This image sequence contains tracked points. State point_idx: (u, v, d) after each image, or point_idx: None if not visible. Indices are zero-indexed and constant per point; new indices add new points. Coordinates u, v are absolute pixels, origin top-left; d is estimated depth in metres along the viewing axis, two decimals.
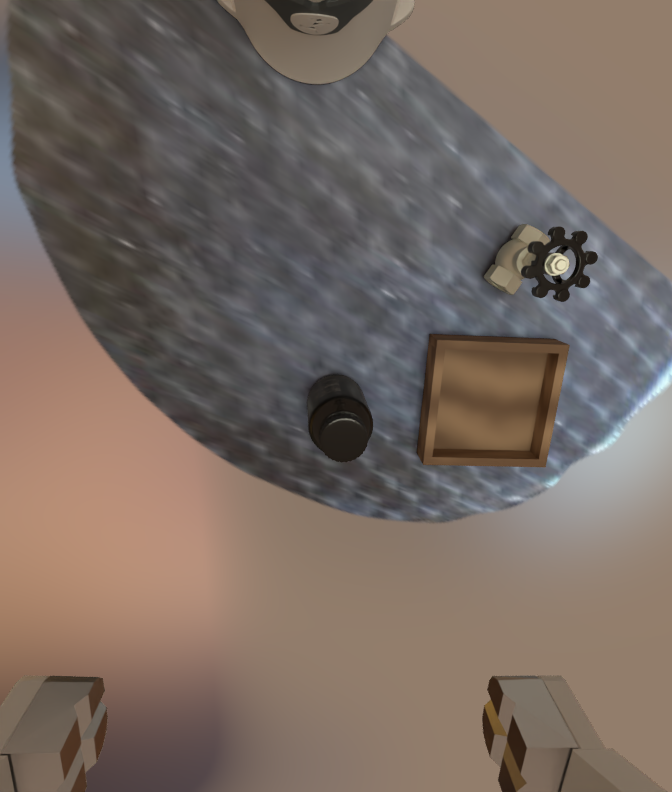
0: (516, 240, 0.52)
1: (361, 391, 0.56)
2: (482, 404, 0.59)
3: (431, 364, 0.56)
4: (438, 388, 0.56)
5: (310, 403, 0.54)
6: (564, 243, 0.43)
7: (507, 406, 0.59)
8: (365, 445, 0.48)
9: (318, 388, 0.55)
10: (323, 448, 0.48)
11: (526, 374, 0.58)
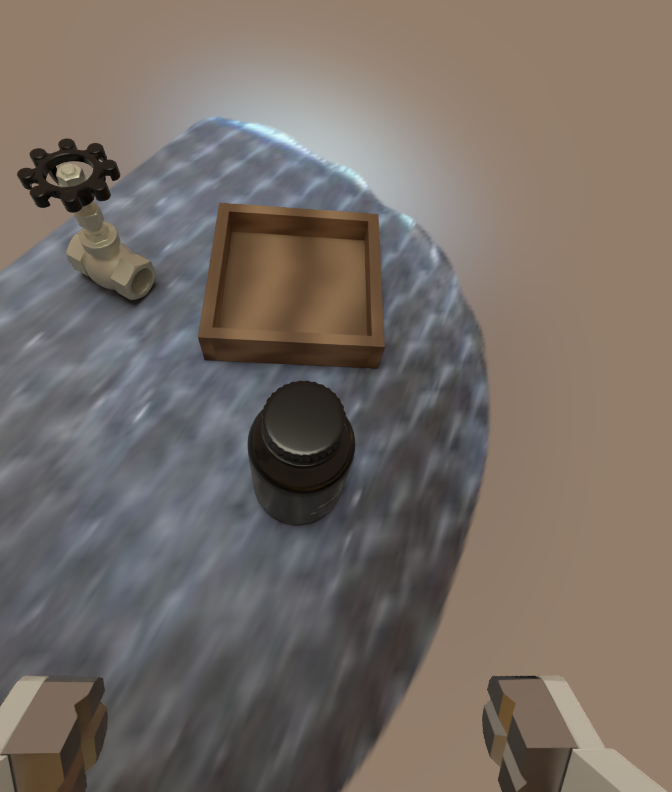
0: (84, 263, 0.43)
1: None
2: (302, 291, 0.45)
3: (238, 347, 0.41)
4: (268, 332, 0.40)
5: (278, 504, 0.32)
6: (40, 168, 0.35)
7: (305, 266, 0.47)
8: (314, 384, 0.29)
9: (261, 497, 0.34)
10: (319, 450, 0.27)
11: (263, 250, 0.47)
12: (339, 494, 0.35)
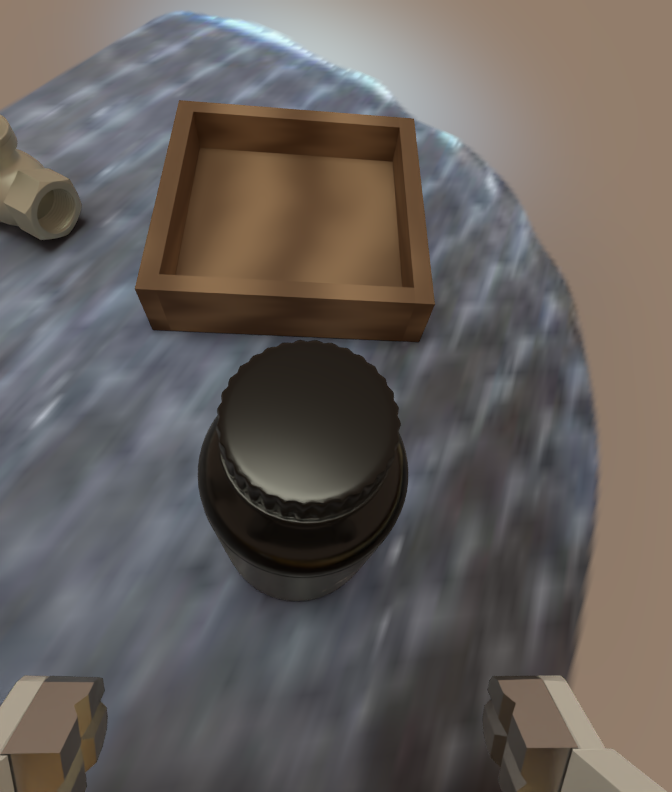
0: None
1: None
2: (303, 230, 0.30)
3: (202, 307, 0.26)
4: (249, 282, 0.25)
5: (262, 581, 0.17)
6: None
7: (307, 195, 0.32)
8: (329, 346, 0.14)
9: (232, 561, 0.19)
10: (345, 491, 0.12)
11: (245, 172, 0.32)
12: None
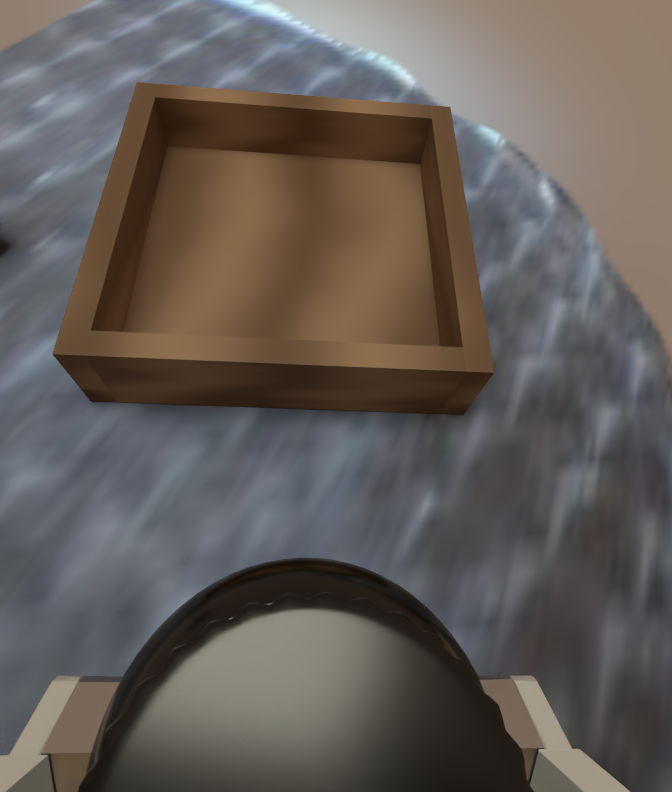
0: None
1: None
2: (303, 256, 0.22)
3: (156, 376, 0.18)
4: (223, 342, 0.17)
5: None
6: None
7: (308, 208, 0.24)
8: (360, 613, 0.06)
9: None
10: None
11: (226, 179, 0.24)
12: None
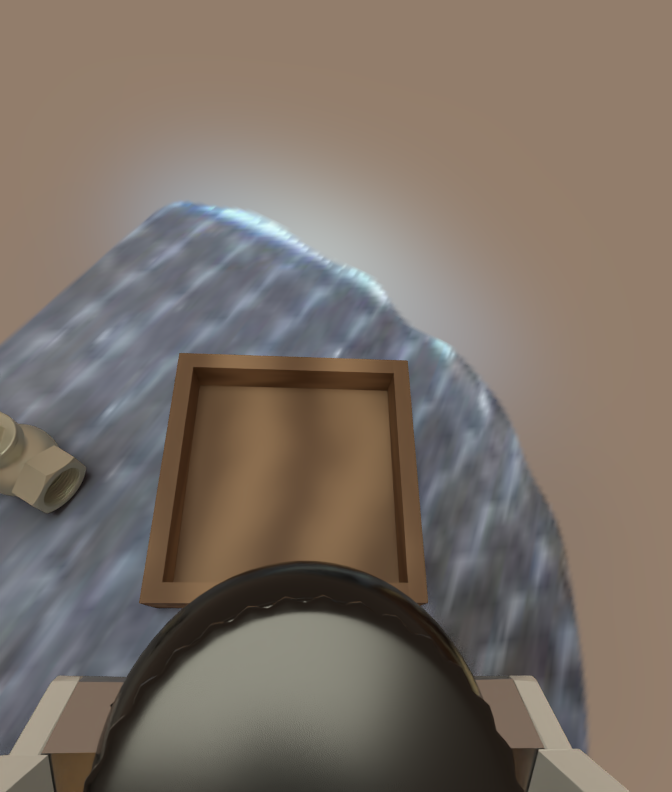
0: None
1: None
2: (301, 483, 0.31)
3: None
4: None
5: None
6: None
7: (304, 439, 0.33)
8: (356, 616, 0.06)
9: None
10: None
11: (244, 414, 0.33)
12: None
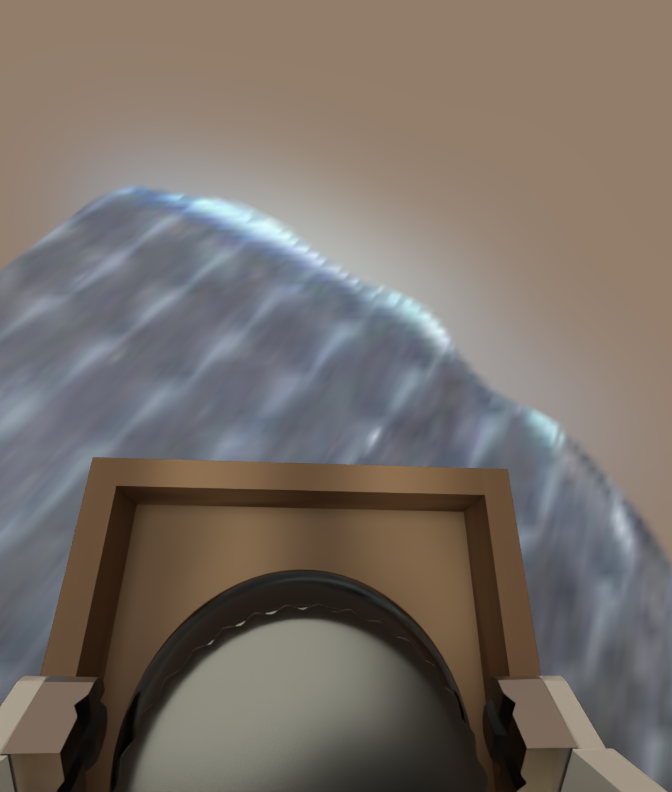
0: None
1: None
2: None
3: None
4: None
5: None
6: None
7: None
8: (345, 621, 0.07)
9: None
10: None
11: (213, 562, 0.18)
12: None
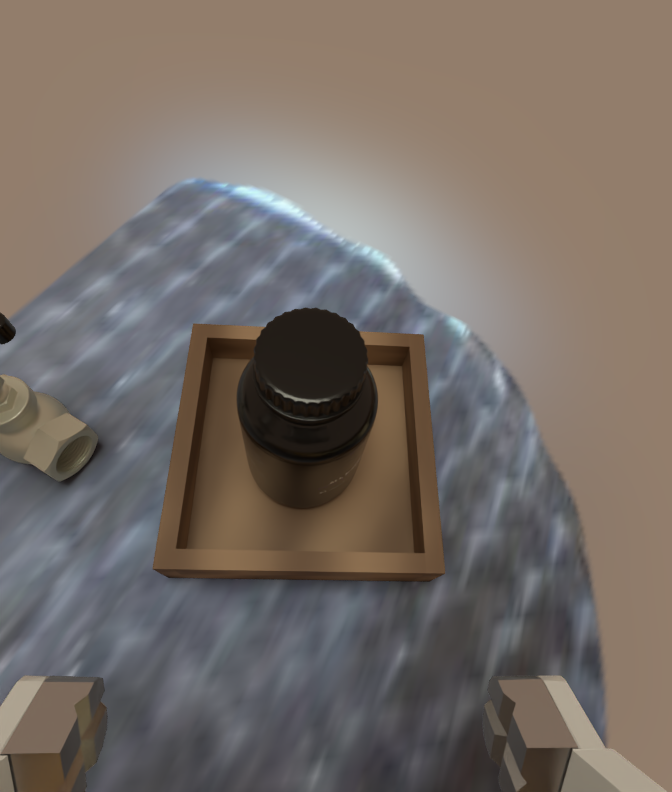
0: None
1: None
2: None
3: (217, 573, 0.26)
4: (263, 555, 0.26)
5: (277, 478, 0.25)
6: None
7: None
8: (324, 312, 0.21)
9: (256, 471, 0.26)
10: (332, 396, 0.19)
11: None
12: (355, 469, 0.27)
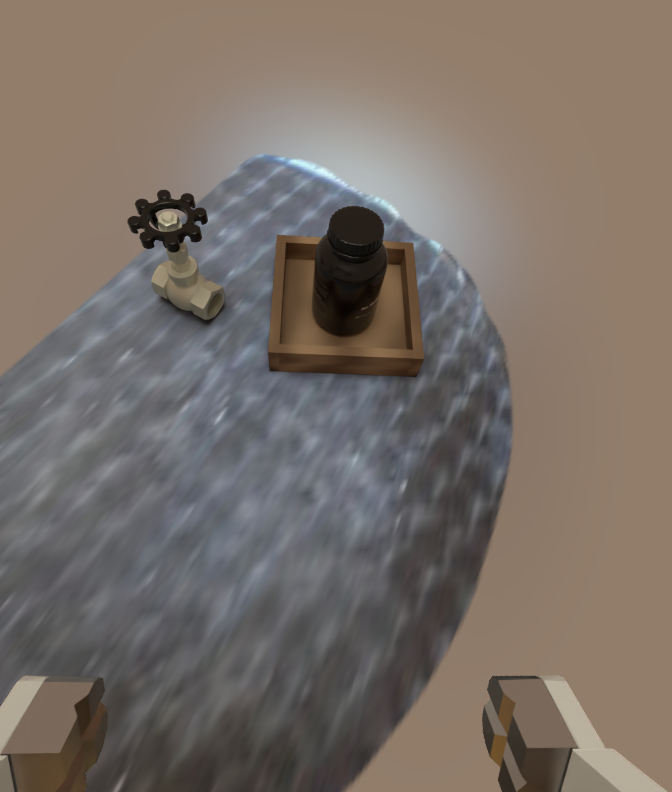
0: (166, 289, 0.50)
1: None
2: None
3: (300, 360, 0.48)
4: (326, 348, 0.47)
5: (334, 304, 0.47)
6: (145, 215, 0.42)
7: None
8: (362, 207, 0.43)
9: (320, 306, 0.48)
10: (367, 242, 0.41)
11: None
12: (374, 307, 0.49)
